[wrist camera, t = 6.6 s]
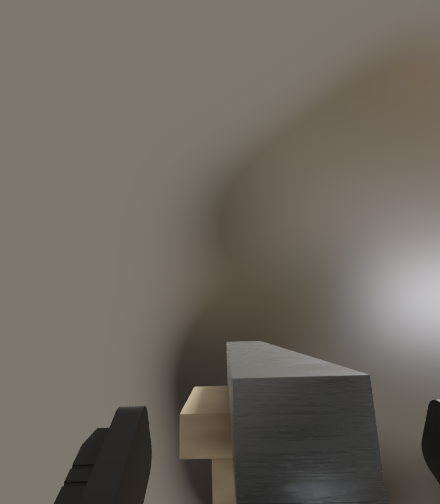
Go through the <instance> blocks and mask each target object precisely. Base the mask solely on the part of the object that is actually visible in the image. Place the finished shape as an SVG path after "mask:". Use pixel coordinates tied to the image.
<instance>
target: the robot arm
mask: <svg viewBox="0 0 440 504" xmlns="http://www.w3.org/2000/svg"><path fill="white" fill-rule="evenodd" d="M149 431H150V430H149V422H148V413H147V408H146V407H145V406H140V407H139V406H138V407H119V408H118V409H117V411H116V413H115V416H114V418H113V420H112V423H111V425H110V428H97V429H96V430H95V431H94V432H93V434H92V435H91V436H90V437H89V438H88V439H87V440H86V441H85V442H84V444H82V446H81V448H80V450H79V452H78V454H77V457H76V459H75V461H74V463H73V466H72V469H70V471H69V473H68V475H67V477H66V480H65V481H64V486H62V488H61V490H60V492H59V494H58V496H57V498H56V501H55V502H54V504H143V502H144V498H145V493H146V489H147V484H148V479H149V475H150V469H151V458H152V450H151V439H150V432H149ZM422 452H423V456H424V459H425V461H426V463H427V466H428V467H429V469H430V470H431V472H432V473H433V475H434V476H435V478H436V479H437V481H438V482H439V484H440V400H432V401H431V402H430V403H429V406H428V411H427V416H426V421H425V427H424V432H423V437H422Z"/></svg>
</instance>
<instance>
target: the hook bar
mask: <svg viewBox="0 0 440 504" xmlns="http://www.w3.org/2000/svg"><path fill="white" fill-rule="evenodd" d="M227 374H228V392H229V408H230V424H231V440H232V456H233V472H234V489H235V504H386V495H385V488H384V481H383V473H382V465H381V457H380V450H379V443H378V434H377V426H376V419H375V411H374V403H373V395H372V388H371V380H370V375H368V374H365V373H362V372H358V371H355V370H352V369H349V368H346V367H342V366H339V365H336V364H333V363H330V362H326V361H323V360H320V359H316V358H313V357H310V356H307V355H304V354H300V353H297V352H294V351H291V350H287V349H284V348H281V347H278V346H274V345H271V344H268V343H265V342H261V341H251V342H227Z"/></svg>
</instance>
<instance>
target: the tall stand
mask: <svg viewBox="0 0 440 504" xmlns="http://www.w3.org/2000/svg"><path fill="white" fill-rule="evenodd" d="M204 458H212V484H213V485H212V486H213V504H235V489H234V472H233V456H232V440H231V424H230V408H229V392H228V386H209V387H208V386H207V387H206V386H205V387H194V389H193V391H192V392H191V395H190V396H189V398H188V400H187V402H186V404H185V406H184V408H183V409H182V411H181V413H180V459H204Z"/></svg>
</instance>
